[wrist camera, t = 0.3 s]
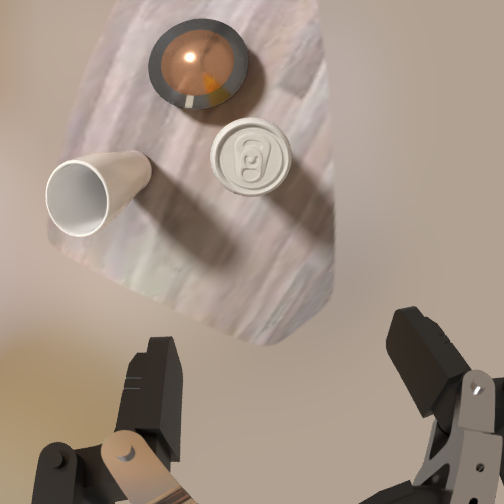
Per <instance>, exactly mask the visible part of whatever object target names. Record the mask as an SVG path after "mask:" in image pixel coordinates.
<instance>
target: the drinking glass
mask: <svg viewBox="0 0 504 504" xmlns="http://www.w3.org/2000/svg"><path fill="white" fill-rule="evenodd" d="M151 173H152V168H151V164H150V161H149V160H148V158H147V157H146V156H145V155H144V154H143V153H141V152H139V151H136V150H128V151H123V152H106V153H94V154H88V155H84V156H80V157H77V158H74V159H72V160H69V161H67V162H64V163H63V164H61V165H60V166H58V167H57V168H56V169H55V170H54V171H53V173H52V174H51V176H50V178H49V180H48V184H47V187H46V205H47V209H48V212H49V215H50V217H51V219H52V220H53V222H54V223H55V224H56V226H57V227H58V228H59V229H60V230H62V231H63V232H64V233H66V234H68V235H70V236H73V237H78V238H84V237H89V236H92V235H94V234H96V233H97V232H98V231H100V230H101V229H102V228H104V227H105V226H107V225H108V224H109V223H110V222H112V221H113V220H114V219H115V218H116V217H117V216H118V215H119V214H120V213H121V212H122V211H123V210H124V209H125V207H126V206H127V205H128V204H129V203H130V202H131V200H132V199H133V198H134V197H135V196H136V195H137V194H138V193H139V192H140V191H141V190H142V189H143V188H144V187H145V186H146V185H147V184H148V182H149V181H150V178H151Z"/></svg>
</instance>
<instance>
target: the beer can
mask: <svg viewBox="0 0 504 504" xmlns="http://www.w3.org/2000/svg"><path fill="white" fill-rule="evenodd" d="M210 162H211V167H212V170H213V173H214V175H215V177H216V178H217V180H218V181H219V182H220V183H221V184H222V185H223V186H224V187H225V188H226V189H228V190H229V191H231V192H233V193H235V194H238V195H241V196H247V197H255V196H261V195H264V194H267V193H269V192H271V191H273V190H274V189H276V188H277V187H278V186H279V185H280V184H281V183H282V182H283V181H284V180H285V178H286V177H287V175H288V173H289V170H290V167H291V162H292V152H291V147H290V144H289V141H288V139H287V137H286V136H285V134H284V133H283V132H282V131H281V129H279V128H278V127H277V126H276V125H274V124H273V123H271V122H269V121H267V120H264V119H261V118H254V117H249V118H242V119H238V120H235V121H233V122H231V123H230V124H228V125H226V126H225V127H224V128H223V129H222V130H221V131H220V132H219V133H218V135H217V136H216V138H215V140H214V142H213V144H212V147H211V153H210Z"/></svg>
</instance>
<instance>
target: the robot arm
mask: <svg viewBox="0 0 504 504" xmlns="http://www.w3.org/2000/svg"><path fill="white" fill-rule="evenodd" d="M386 349H387V352H388V355H389V356H390V358H391V360H392V362H393V364H394V365H395V367H396V369H397V371H398V372H399V374H400V376H401V378H402V380H403V382H404V383H405V385H406V387H407V389H408V391H409V393H410V394H411V396H412V398H413V400H414V402H415V404H416V406H417V408H418V410H419V412H420V413H421V415H422V417H423V418H425V417H428V416H430V415H432V414H434V416H435V420H434V422H433V425H432V430H431V434H430V439H429V443H428V447H427V451H426V455H425V459H424V462H423V465H422V467H421V469H420V471H419V472H418V474H417V475H416V477H415V479H414V482H413V485H412V484H411V482H410V480H408V481H406V482H403V483H401V484H398V485H396V486H393V487H391V488H387V489H385V490H382V491H379V492H378V493H376V494H374V495H373V496H371V497H370V498H368V499H366V500H364V501H363V502H361V503H359V504H494V502H495V497H496V491H497V486H498V479H499V475H500V477H501V480H502V482H503V485H504V377H503V378H494V379H492V378H491V377H490V376H489V375H488V374H487V373H485V372H483V371H480V370H471V369H470V367H469V366H468V364H467V363H466V361H465V360H464V359H463V357H462V356H461V354H460V353H459V352H458V350H457V349H456V348H455V346H454V345H453V344H452V343H450V340H449V338H448V337H447V336H446V335H445V333H444V332H443V330H442V329H441V328H440V327H439V325H438V324H437V323H435V322H434V321H432V320H431V319H429V318H428V317H424V316H423V314H422V313H421V312H420V311H419V309H417V307H415V306H412V307H407V308H403V309H398V310H396V311H395V313H394V316H393V320H392V323H391V326H390V329H389V333H388V336H387V339H386ZM182 389H183V373H182V367H181V363H180V360H179V357H178V354H177V350H176V347H175V343H174V340H173V338H172V336H171V337H151V338H150V339H149V343H148V348H147V353H137V354H136V355H135V356H134V358H133V359H132V360H131V362H130V363H129V366H128V370H127V374H126V379H125V383H124V390H123V393H122V397H121V403H120V407H119V413H118V418H117V423H116V428H115V430H114V432H113V433H112V434H111V435H109V436H108V437H107V438H106V439H105V440H104V442H103V443H102V444H100V445H97V446H93V447H88V448H82V449H76V450H73V449H72V448H71V447H70V446H69V445H67V444H65V443H61V442H54V443H51V444H49V445H47V446H46V447H45V448H44V449H43V450H42V451H41V453H40V456H39V460H38V465H37V470H36V476H35V482H34V489H33V495H32V503H31V504H115V502H117V501H122V500H129V501H130V503H131V504H198V503H197V502H196V501H195V500H194V499H193V498H192V497H191V496H190V495H189V494H188V493H187V492H186V491H185V490H184V489H183V487H182V486H181V485H180V484H179V483H178V482H177V480H176V479H175V478H174V477H173V476H172V475H171V474H170V462H180V435H181V408H182Z"/></svg>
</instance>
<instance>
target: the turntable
mask: <svg viewBox="0 0 504 504" xmlns="http://www.w3.org/2000/svg"><path fill="white" fill-rule="evenodd" d="M148 69H149V77H150V80H151V83H152V85H153V87H154V89H155V90H156V92H157V93H158V94H159V95H160V96H161V97H162V98H163V99H164V100H166V101H167V102H169V103H171V104H173V105H175V106H178V107H182V108H185V109H191V110H202V109H208V108H212V107H215V106H218V105H220V104H222V103H224V102H225V101H227V100H228V99H230V98H231V97H232V96H233V95H234V94H235V93H236V92H237V91H238V90H239V88H240V87H241V85H242V84H243V82H244V80H245V77H246V74H247V69H248V52H247V48H246V45H245V43H244V41H243V39H242V38H241V37H240V35H239V34H238V33H237V32H236V31H235V30H234V29H232V28H231V27H230V26H228V25H226V24H224V23H222V22H219V21H216V20H211V19H193V20H189V21H185V22H182V23H180V24H178V25H176V26H174V27H172V28H171V29H169V30H168V31H167V32H166V33H164V34H163V35H162V36H161V37H160V39H159V40H158V41H157V43H156V44H155V46H154V48H153V50H152V52H151V55H150V58H149V65H148Z"/></svg>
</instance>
